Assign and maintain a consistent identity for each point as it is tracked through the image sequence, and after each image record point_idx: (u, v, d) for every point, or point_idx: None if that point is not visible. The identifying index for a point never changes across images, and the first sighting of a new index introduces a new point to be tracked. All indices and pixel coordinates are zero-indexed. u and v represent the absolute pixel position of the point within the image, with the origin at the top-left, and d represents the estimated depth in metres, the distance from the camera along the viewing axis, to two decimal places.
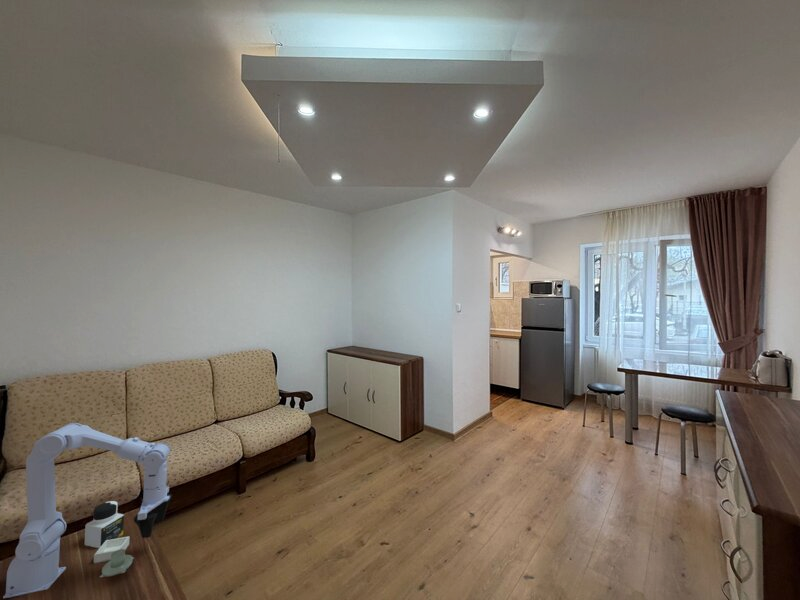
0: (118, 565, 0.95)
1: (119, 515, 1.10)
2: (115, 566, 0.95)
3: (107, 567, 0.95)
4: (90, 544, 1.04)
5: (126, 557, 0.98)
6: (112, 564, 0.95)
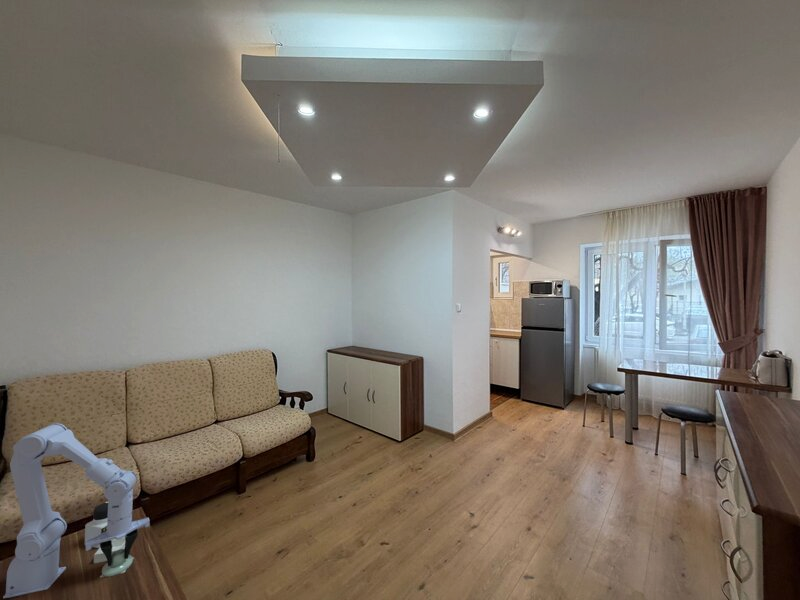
0: (118, 565, 0.95)
1: None
2: (115, 566, 0.95)
3: (107, 567, 0.95)
4: None
5: None
6: (112, 564, 0.95)
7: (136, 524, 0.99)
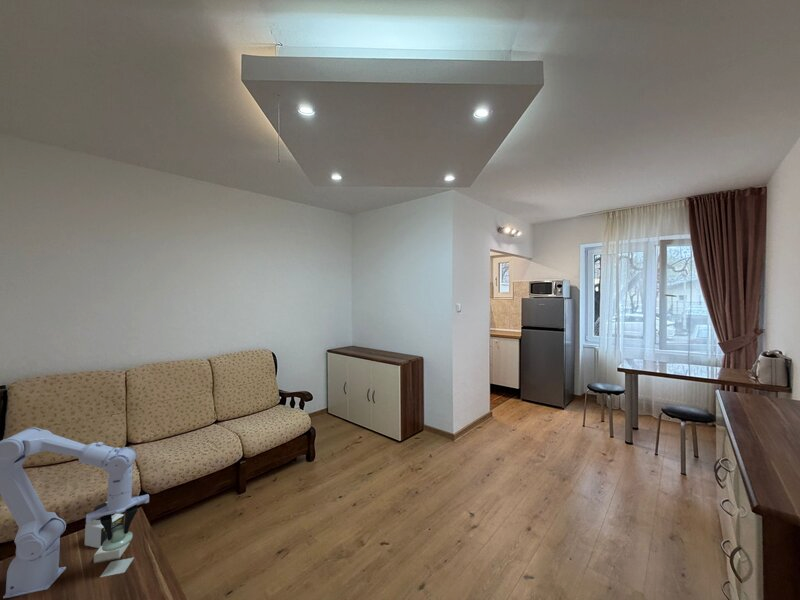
0: (118, 540, 0.96)
1: (119, 515, 1.10)
2: (115, 541, 0.96)
3: (107, 542, 0.96)
4: (90, 544, 1.04)
5: (126, 533, 0.99)
6: (112, 539, 0.96)
7: (136, 500, 1.00)
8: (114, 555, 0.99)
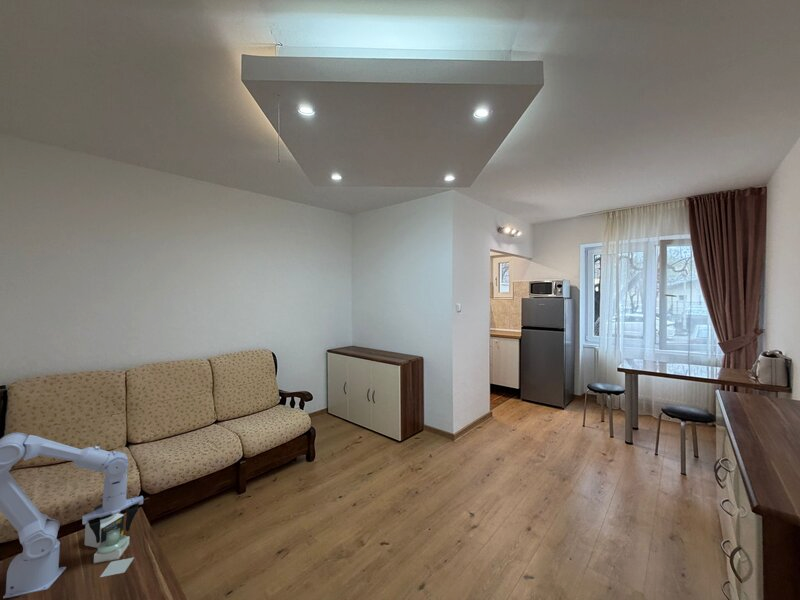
0: (113, 544, 1.00)
1: (119, 515, 1.10)
2: (110, 545, 1.00)
3: (103, 546, 1.00)
4: (90, 544, 1.04)
5: (121, 537, 1.03)
6: (107, 543, 1.00)
7: (130, 501, 1.05)
8: (114, 555, 0.99)
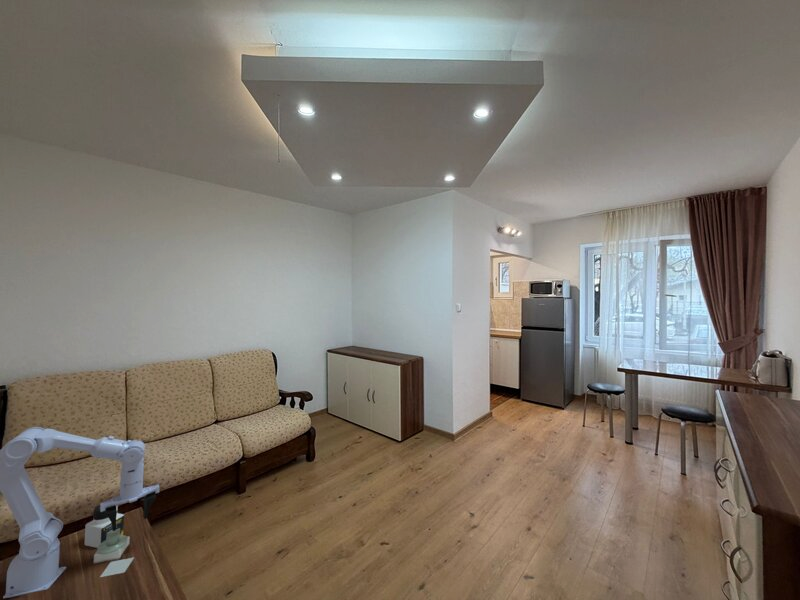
0: (113, 544, 1.00)
1: (119, 515, 1.10)
2: (110, 545, 1.00)
3: (103, 546, 1.00)
4: (90, 544, 1.04)
5: (121, 537, 1.03)
6: (107, 543, 1.00)
7: (147, 490, 1.05)
8: (114, 555, 0.99)
